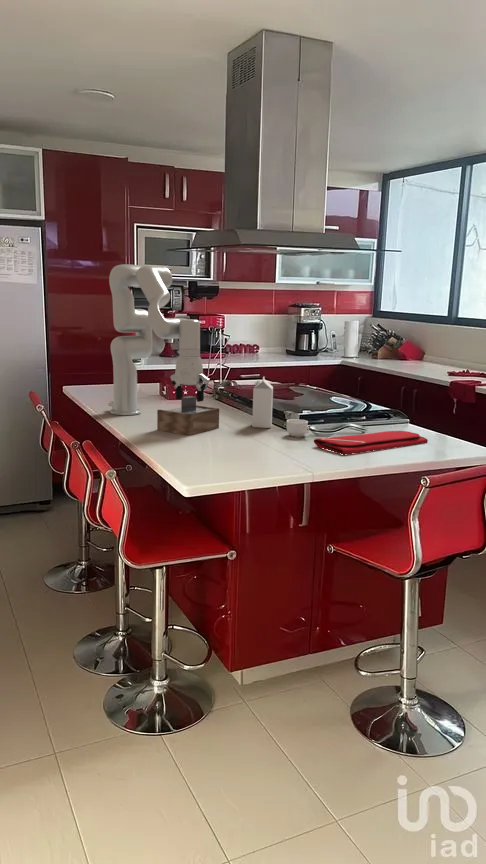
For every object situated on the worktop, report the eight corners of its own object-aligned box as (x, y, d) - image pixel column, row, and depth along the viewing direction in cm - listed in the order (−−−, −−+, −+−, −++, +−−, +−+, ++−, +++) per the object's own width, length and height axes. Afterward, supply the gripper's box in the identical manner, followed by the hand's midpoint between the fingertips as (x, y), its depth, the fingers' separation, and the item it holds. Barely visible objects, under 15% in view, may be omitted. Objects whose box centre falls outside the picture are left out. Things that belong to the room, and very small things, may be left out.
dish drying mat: (428, 444, 246) (429, 433, 245) (344, 457, 223) (345, 446, 222) (395, 436, 259) (395, 426, 258) (312, 447, 235) (312, 437, 234)
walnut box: (157, 429, 255) (157, 409, 253) (187, 422, 269) (187, 403, 268) (189, 435, 247) (189, 414, 245) (218, 428, 261) (219, 408, 260)
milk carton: (271, 424, 270) (273, 376, 266) (270, 428, 263) (272, 378, 260) (253, 424, 271) (255, 375, 267) (252, 427, 264) (253, 378, 260)
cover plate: (162, 413, 254) (162, 397, 253) (188, 408, 266) (188, 393, 265) (189, 418, 247) (189, 401, 246) (214, 412, 260) (214, 396, 258)
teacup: (281, 435, 252) (282, 420, 251) (296, 432, 257) (297, 418, 256) (300, 440, 245) (301, 425, 243) (316, 437, 249) (316, 422, 248)
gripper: (164, 352, 254) (165, 399, 257) (202, 355, 244) (202, 403, 248) (177, 351, 260) (177, 397, 263) (214, 354, 251) (214, 401, 254)
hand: (189, 400), depth 255 cm, fingers open, 9 cm apart
